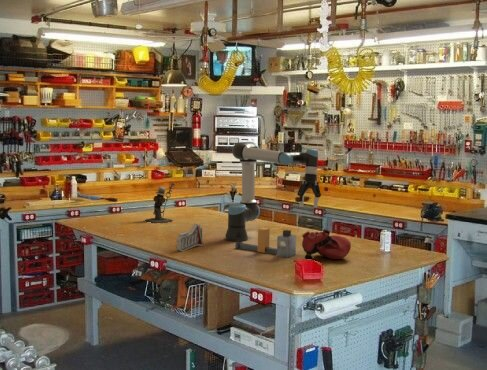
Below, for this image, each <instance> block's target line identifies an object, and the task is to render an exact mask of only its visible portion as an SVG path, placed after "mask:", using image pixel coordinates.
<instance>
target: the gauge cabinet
mask: <svg viewBox="0 0 487 370" xmlns="http://www.w3.org/2000/svg"><path fill="white" fill-rule="evenodd" d="M276 237H277V238H276V241H277V242H276V248H277V255H276V257H280V258H284V259H285V258H286V259H287V258H291V257H294V256H296V251H297V250H296V249H297V235H296V234H292V233H291V235H288V237H286V236H285V235H283V234H280V235H277V236H276Z"/></svg>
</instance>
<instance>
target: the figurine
mask: <svg viewBox="0 0 487 370" xmlns="http://www.w3.org/2000/svg"><path fill="white" fill-rule="evenodd" d="M175 186H176V183H173V182H171V184H170V187H169V190H168V191H167V192H166V187H164V186H159V187H158V189H157V190H158V191H155V193H154V194H157V195H155V196H154V197H153V201H154V206H153V210H154V211H153V212H152V214H153V215H154V217H152V218H151V217H150V218H146V219H144V220H145V221H146V222H145V223H147V222H151V223H150V224H157V223H160V224H169V223H168V222H170V223H172V221H173V222H174V220H173V219H171V218H168V217H164V214H165V211H166V210H165V209H166V205H167V202H168V199H170V198H171V196H172V194H171V193H172V192H173V188H174V187H175ZM167 194H169V196H168V195H167ZM163 205H164V208H163V210H162V208H161V207H163Z"/></svg>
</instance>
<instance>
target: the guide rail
mask: <svg viewBox="0 0 487 370" xmlns="http://www.w3.org/2000/svg"><path fill="white" fill-rule="evenodd" d="M234 247H235V249H237V250H245V251H251V252H258V244H257V245H256V244H251V243H244V241H236V242H235V245H234ZM258 253H259V252H258ZM264 254H270V255H276V256H277V247H270V246H269V247H266V248H265V253H264Z"/></svg>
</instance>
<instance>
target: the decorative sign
mask: <svg viewBox="0 0 487 370" xmlns="http://www.w3.org/2000/svg"><path fill="white" fill-rule="evenodd" d="M203 240H204V239H203V227H201V224H198V223H194V224H193V225H192V227H191V228H190V229H189V231H183V232H181V233H178V236H177V237H176V243H177V244H176V249H177V251H178V252H185V251H187V250H189V249H192V248H194V247H197V246H200V247H201V246H202V247H203V246H204V243H203Z"/></svg>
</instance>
